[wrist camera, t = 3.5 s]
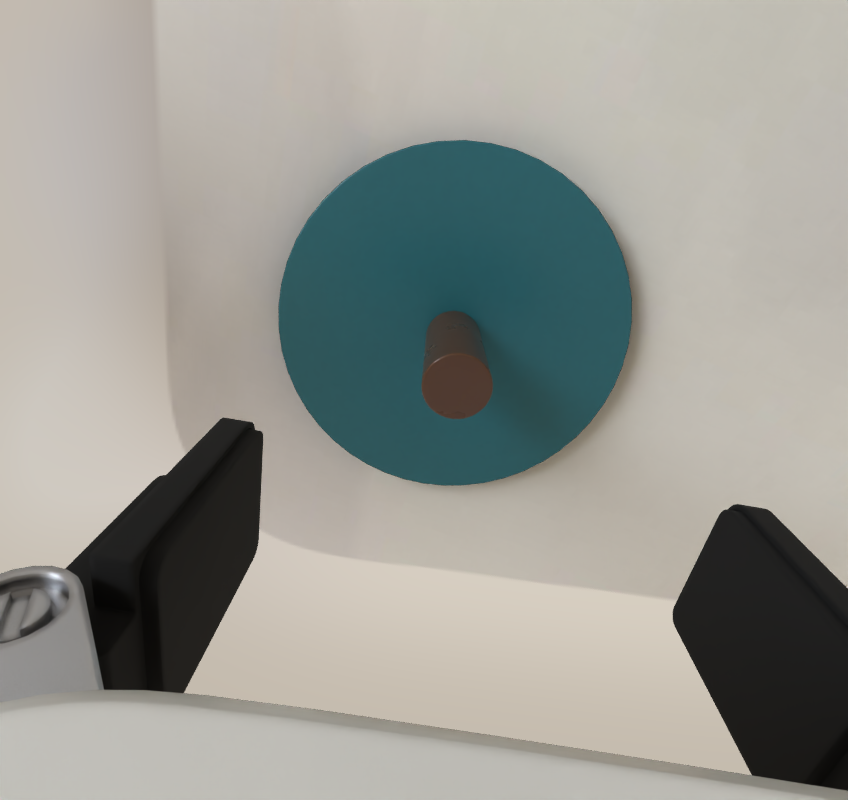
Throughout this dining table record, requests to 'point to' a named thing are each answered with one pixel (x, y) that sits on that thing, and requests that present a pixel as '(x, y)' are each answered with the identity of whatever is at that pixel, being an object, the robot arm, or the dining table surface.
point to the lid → (455, 312)
